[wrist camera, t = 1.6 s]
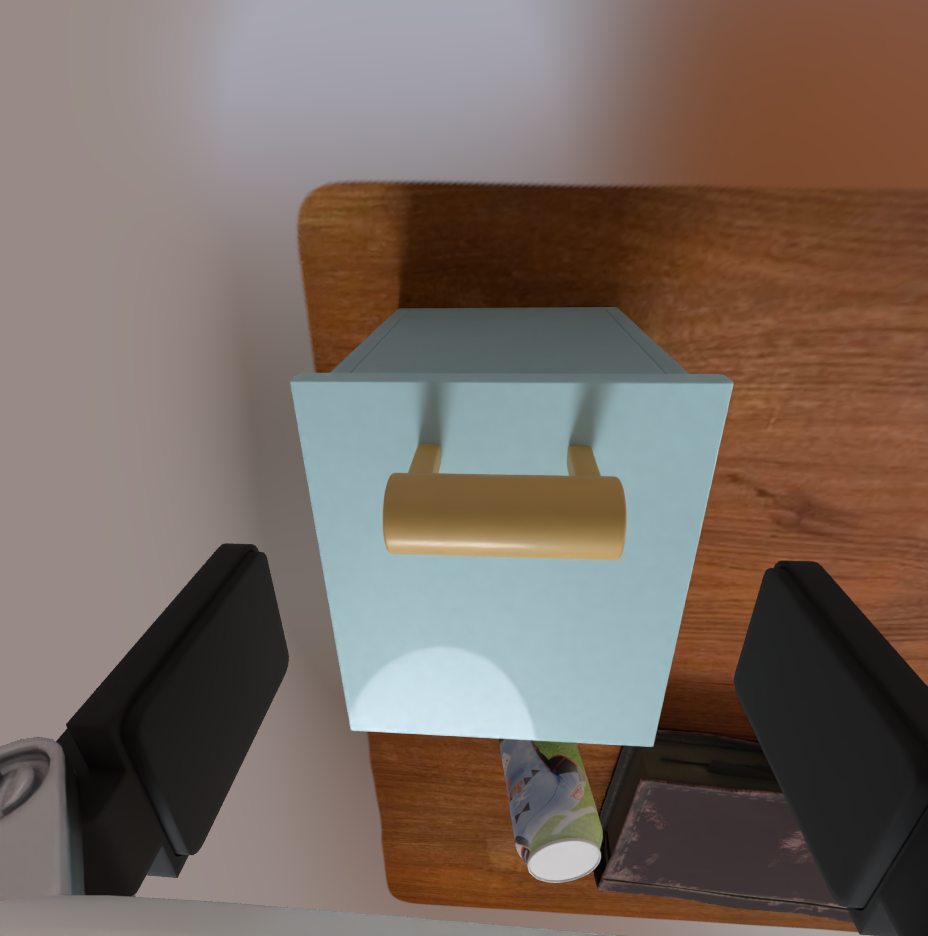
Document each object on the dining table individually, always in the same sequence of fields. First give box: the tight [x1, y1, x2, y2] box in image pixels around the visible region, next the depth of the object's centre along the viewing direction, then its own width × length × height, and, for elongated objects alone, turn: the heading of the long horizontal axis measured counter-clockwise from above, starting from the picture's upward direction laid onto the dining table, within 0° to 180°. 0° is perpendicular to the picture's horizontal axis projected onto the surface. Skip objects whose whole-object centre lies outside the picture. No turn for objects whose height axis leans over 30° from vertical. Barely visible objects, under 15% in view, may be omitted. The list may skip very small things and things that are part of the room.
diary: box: [593, 729, 854, 923], centre depth 46 cm, size 19×25×5 cm
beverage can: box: [499, 738, 603, 883], centre depth 39 cm, size 6×7×12 cm
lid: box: [290, 373, 733, 747], centre depth 17 cm, size 15×13×5 cm
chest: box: [330, 307, 689, 374], centre depth 26 cm, size 15×13×16 cm
